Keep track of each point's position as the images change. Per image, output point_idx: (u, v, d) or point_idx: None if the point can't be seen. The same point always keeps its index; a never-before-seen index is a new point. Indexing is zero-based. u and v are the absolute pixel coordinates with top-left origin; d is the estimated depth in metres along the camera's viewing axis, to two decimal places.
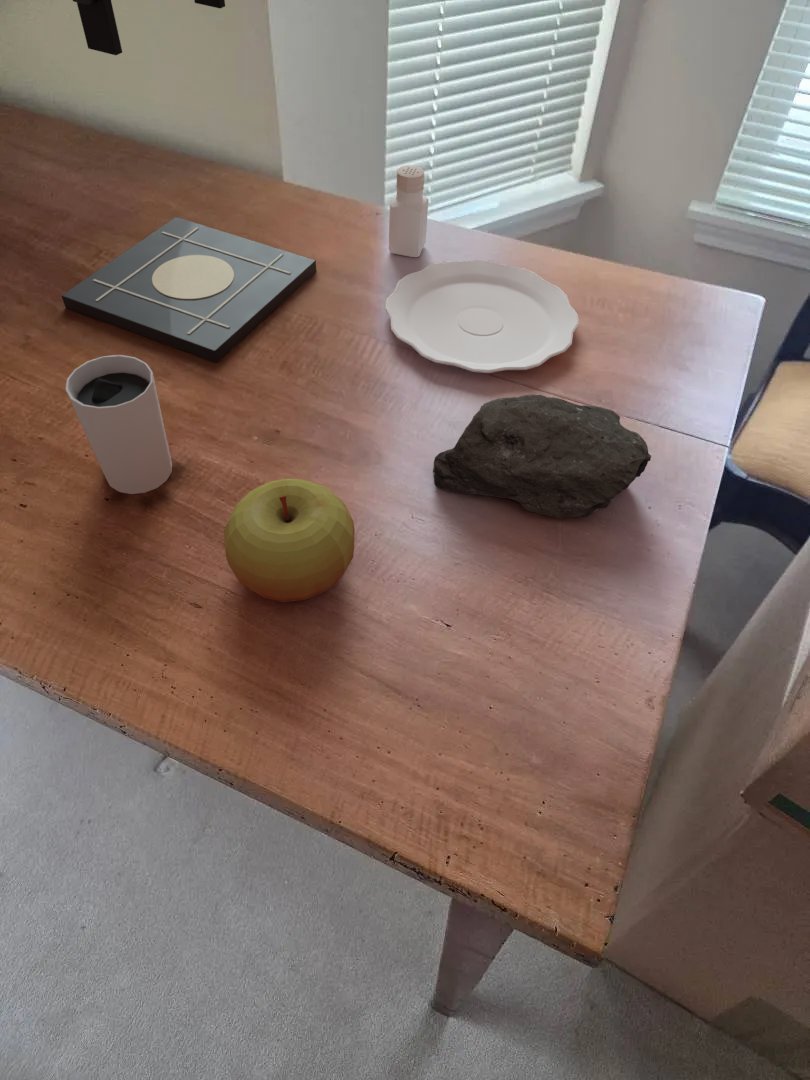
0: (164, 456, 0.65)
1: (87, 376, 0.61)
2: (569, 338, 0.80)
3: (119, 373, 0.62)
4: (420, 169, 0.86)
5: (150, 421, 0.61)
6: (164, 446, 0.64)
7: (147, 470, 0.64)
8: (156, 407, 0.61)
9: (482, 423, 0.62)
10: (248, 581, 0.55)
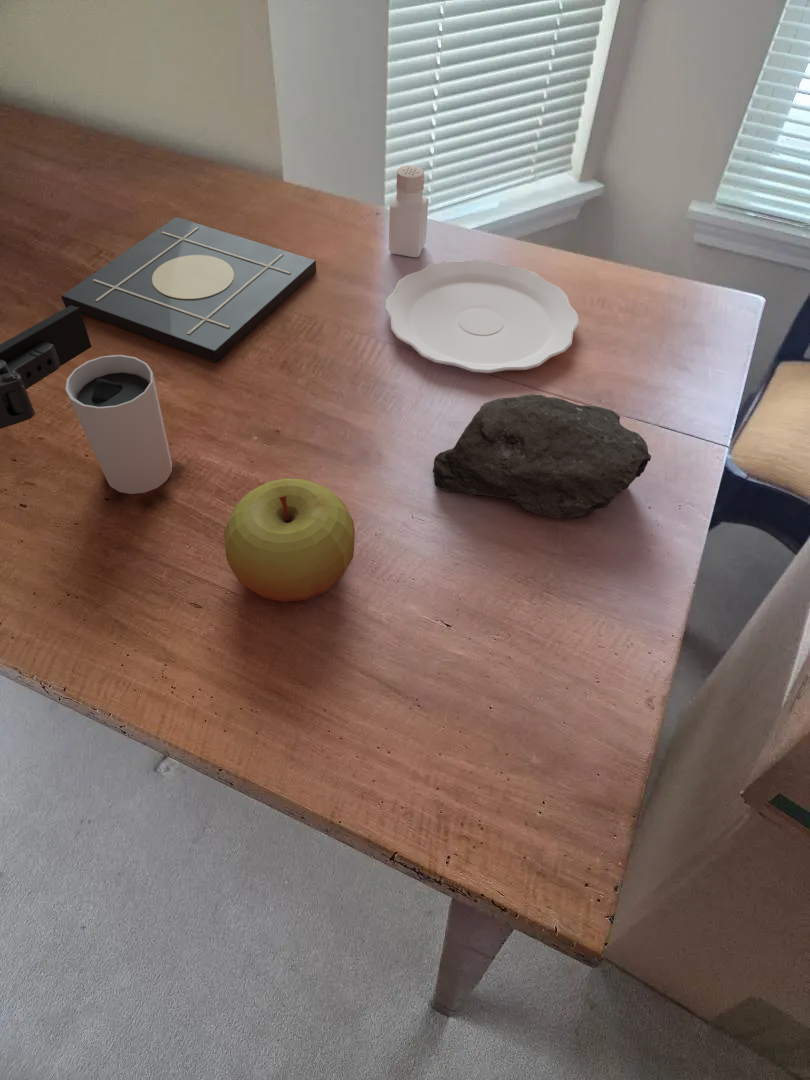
0: (164, 456, 0.65)
1: (87, 376, 0.61)
2: (569, 338, 0.80)
3: (119, 373, 0.62)
4: (420, 169, 0.86)
5: (150, 421, 0.61)
6: (164, 446, 0.64)
7: (147, 470, 0.64)
8: (156, 407, 0.61)
9: (482, 422, 0.62)
10: (248, 581, 0.55)
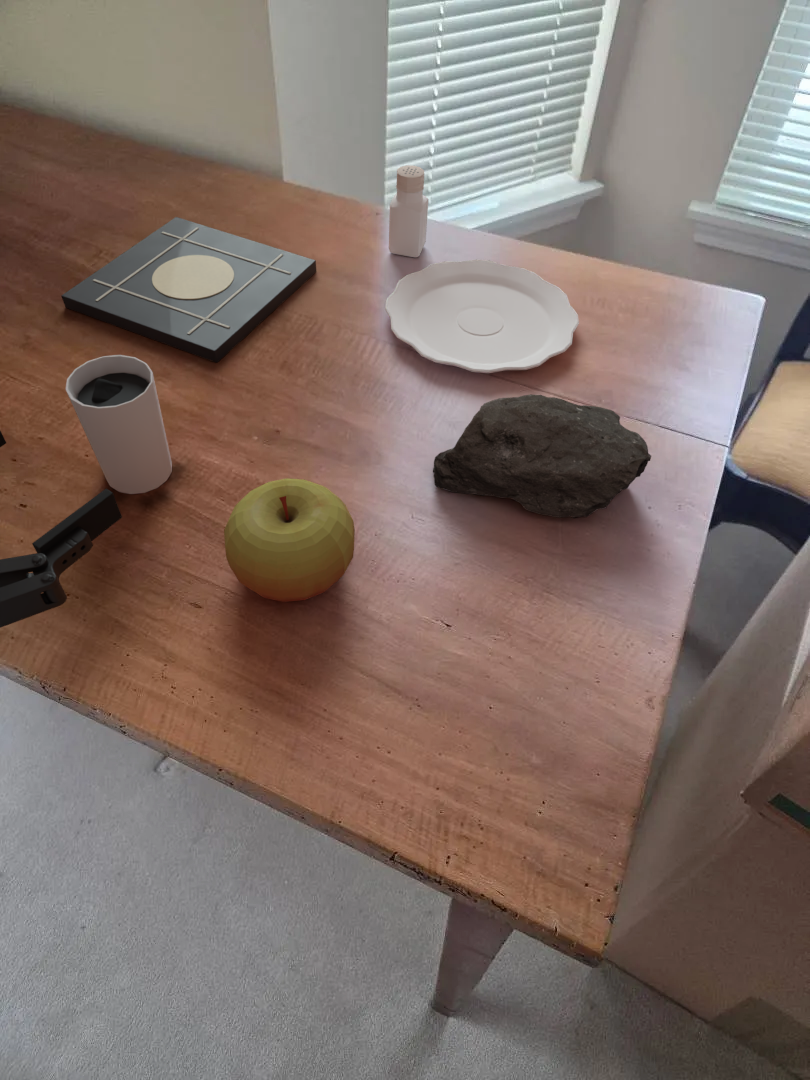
0: (164, 456, 0.65)
1: (87, 376, 0.61)
2: (569, 338, 0.80)
3: (119, 373, 0.62)
4: (420, 169, 0.86)
5: (150, 421, 0.61)
6: (164, 446, 0.64)
7: (147, 470, 0.64)
8: (156, 407, 0.61)
9: (482, 422, 0.62)
10: (248, 581, 0.55)
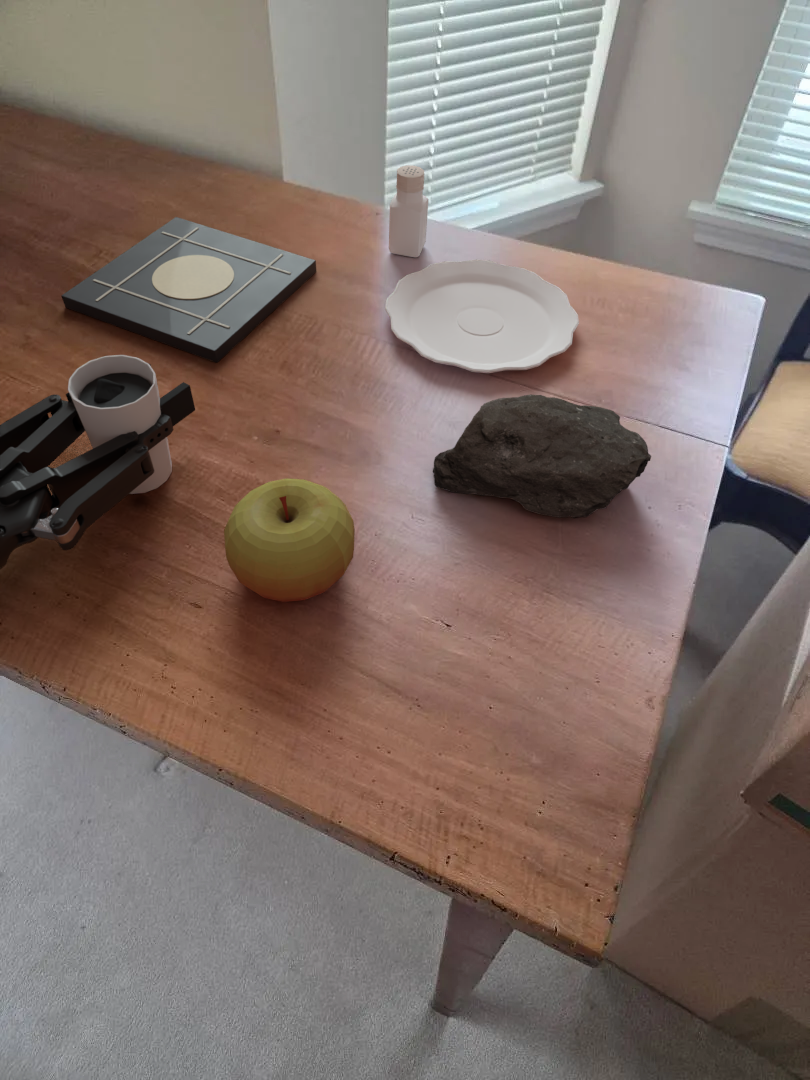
0: (165, 456, 0.65)
1: (89, 376, 0.61)
2: (569, 338, 0.80)
3: (121, 373, 0.62)
4: (420, 169, 0.86)
5: (151, 422, 0.61)
6: (165, 447, 0.64)
7: None
8: (158, 408, 0.61)
9: (482, 423, 0.62)
10: (248, 581, 0.55)
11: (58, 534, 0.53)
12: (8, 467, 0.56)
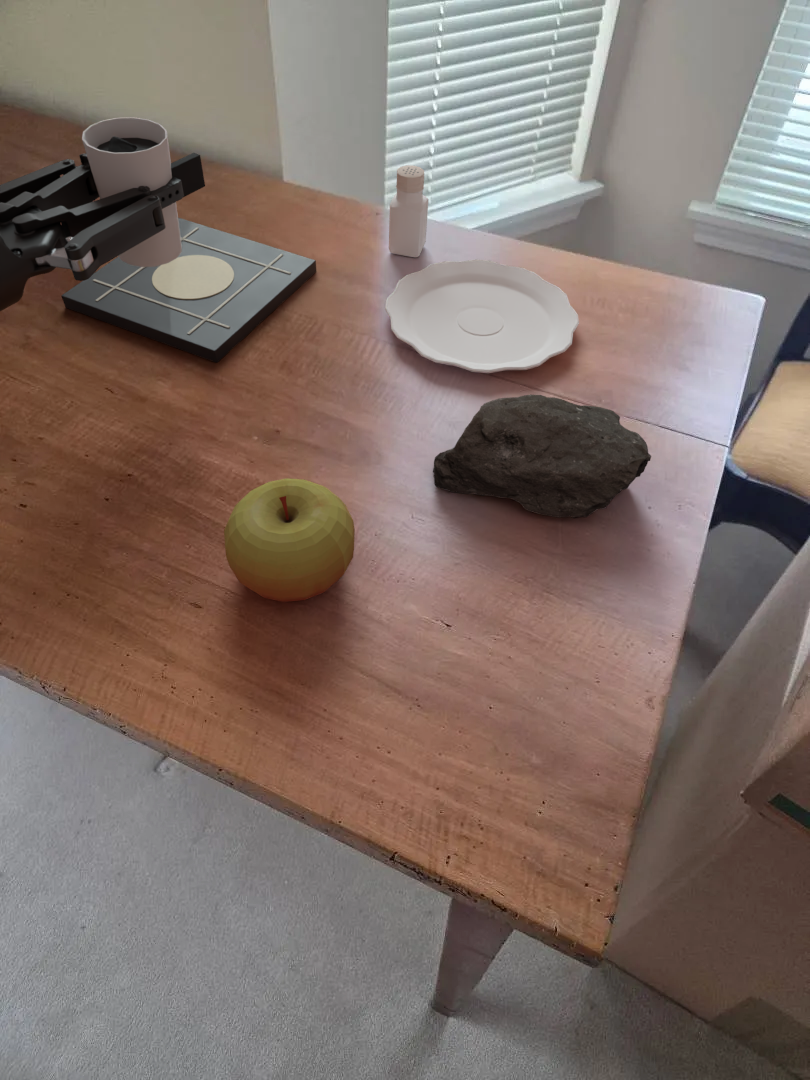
0: (175, 229, 0.66)
1: (102, 136, 0.62)
2: (569, 338, 0.80)
3: (133, 138, 0.63)
4: (420, 169, 0.86)
5: (163, 180, 0.62)
6: (175, 218, 0.66)
7: (159, 238, 0.65)
8: (169, 169, 0.62)
9: (482, 423, 0.62)
10: (248, 581, 0.55)
11: (73, 258, 0.55)
12: (24, 206, 0.58)
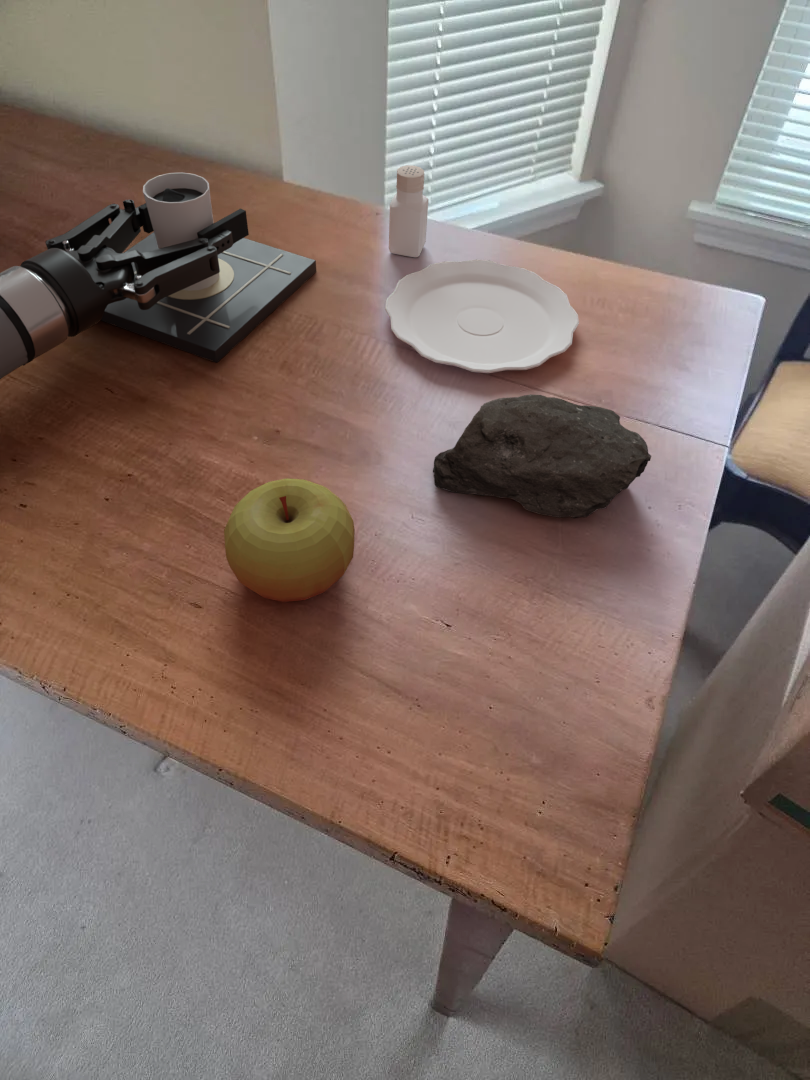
0: None
1: (157, 188, 0.78)
2: (569, 338, 0.80)
3: (181, 188, 0.79)
4: (420, 169, 0.86)
5: (206, 222, 0.78)
6: None
7: None
8: (211, 212, 0.78)
9: (482, 422, 0.62)
10: (248, 581, 0.55)
11: (138, 293, 0.70)
12: (99, 246, 0.74)
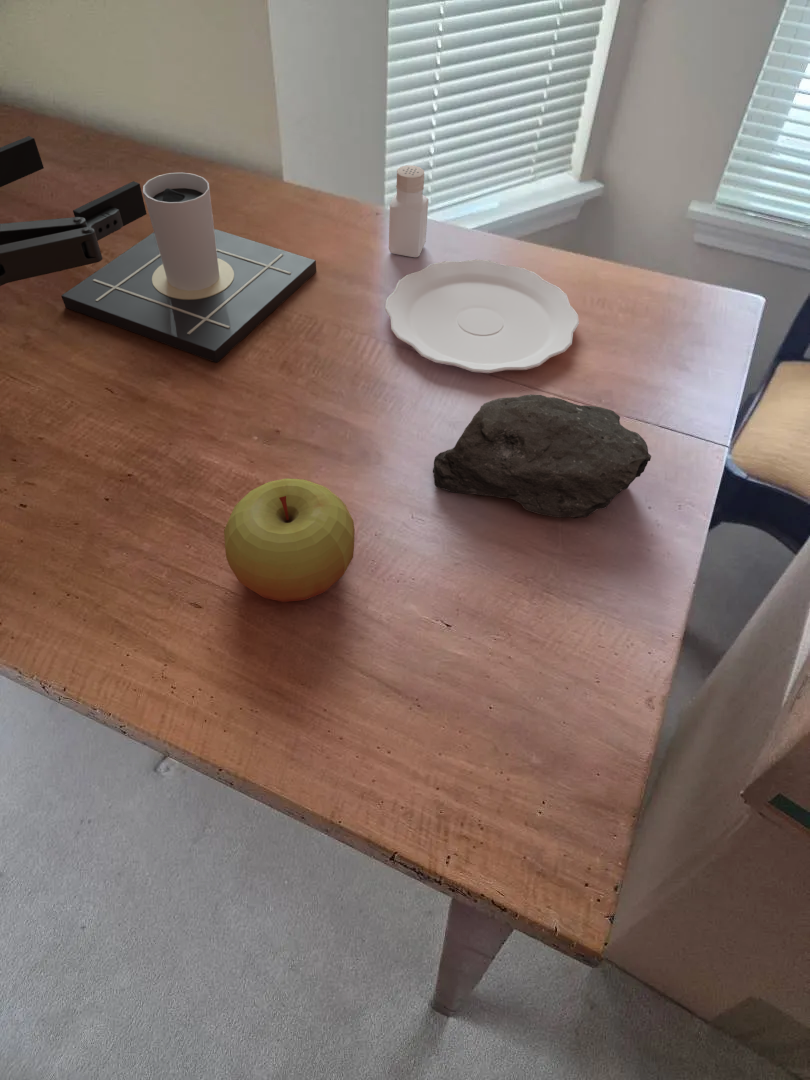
0: (214, 260, 0.82)
1: (157, 188, 0.78)
2: (569, 338, 0.80)
3: (181, 188, 0.79)
4: (420, 169, 0.86)
5: (206, 222, 0.78)
6: (215, 251, 0.81)
7: (202, 268, 0.81)
8: (211, 212, 0.78)
9: (482, 422, 0.62)
10: (248, 581, 0.55)
11: None
12: None
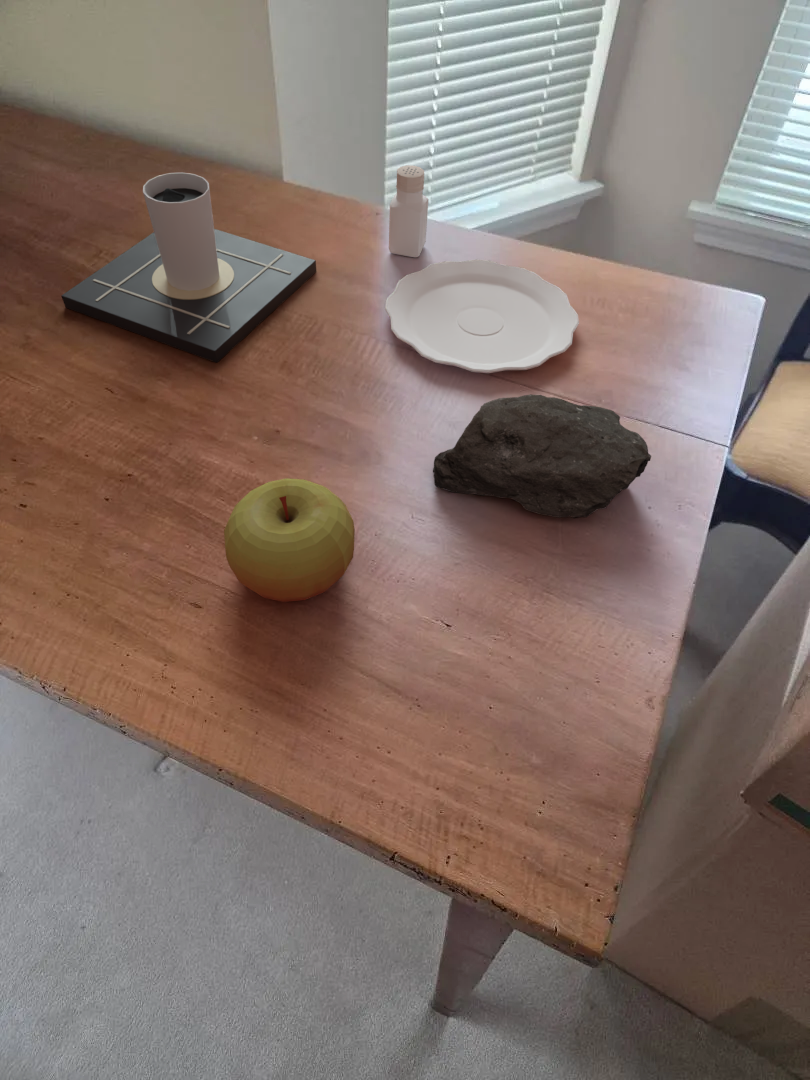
0: (214, 260, 0.82)
1: (157, 188, 0.78)
2: (569, 338, 0.80)
3: (181, 188, 0.79)
4: (420, 169, 0.86)
5: (206, 222, 0.78)
6: (215, 251, 0.81)
7: (202, 268, 0.81)
8: (211, 212, 0.78)
9: (482, 422, 0.62)
10: (248, 581, 0.55)
11: None
12: None
